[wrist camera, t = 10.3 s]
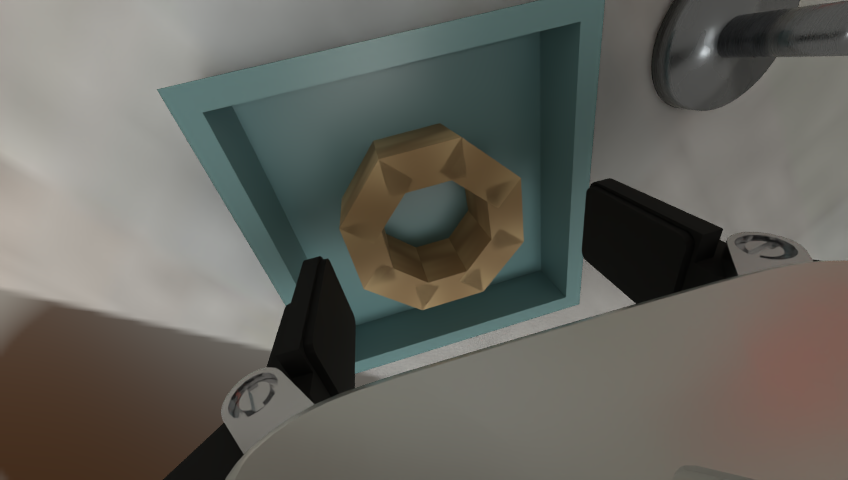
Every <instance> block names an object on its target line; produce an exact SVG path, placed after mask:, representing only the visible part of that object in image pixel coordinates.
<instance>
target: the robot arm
mask: <svg viewBox="0 0 848 480" xmlns="http://www.w3.org/2000/svg"><path fill="white" fill-rule="evenodd" d="M722 231H723V229H722V228H720V227H718V226H716V225H714V224H711V223H709V222H707V221H705V220H702V219H700V218H698V217H696V216H694V215H691V214H689V213H687V212H685V211H682V210H680V209H678V208H676V207H673V206H671V205H669V204H667V203H665V202H662V201H660V200H658V199H656V198H653V197H651V196H649V195H647V194H645V193H642V192H640V191H638V190H636V189H633V188H631V187H629V186H627V185H625V184H622V183H620V182H618V181H616V180H613V179H610V178H609V179H605V180H601V181H597V182H594V183H592V184H591V186H590V188H588V189H587V191H586V200H585V213H584V226H583V239H582V255H583V257H584V259H585V260H586V261H587V262H589V263H590V264H591V265H592V266H593V267H594V268H596V269H597V270H598V271H599V272H600V273H601V274H602V275H604V276H605V277H606V278H607V279H608V280H609V281H611V282H612V283H613V284H614V285H615V286H616V287H618V288H619V289H620V290H621V291H622V292H623V293H624V294H626V295H627V296H628V297H629V298H630V299H631V300H633V301H634V302H635V303H636V304H634V305H631V306H627V307H624V308H620V309H617V310H613V311H610V312H606V313H603V314H599V315H596V316H593V317H589V318H586V319H582V320H579V321H575V322H572V323H568V324H565V325H562V326H558V327H555V328H551V329H548V330H544V331H541V332H538V333H534V334H531V335H527V336H524V337H521V338H517V339H514V340H510V341H507V342H504V343H500V344H497V345H494V346H490V347H487V348H483V349H480V350H477V351H473V352H470V353H467V354H463V355H460V356H457V357H453V358H450V359H447V360H443V361H440V362H436V363H433V364H430V365H426V366H423V367H420V368H417V369H413V370H410V371H407V372H403V373H400V374H397V375H394V376H390V377H387V378H384V379H381V380H378V381H375V382H372V383H369V384H366V385H363V386H360V387H357V388H355V341H356V322H355V317H354V314H353V312H352V310H351V307H350V305H349V303H348V301H347V298H346V296H345V294H344V292H343V289H342V287H341V285H340V283H339V280H338V278H337V276H336V274H335V271H334V269H333V267H332V265H331V262H330V260H329V259H328V258H327V259H323V258H322V257H321V256H318V257H315V258H311V259H307V260H304V261H303V263H302V267H301V270H300V273H299V277H298V280H297V284H296V287H295V290H294V294H293V297H292V301H291V303H289V304H288V305H286V307H285V310H284V313H283V316H282V319H281V323H280V326H279V329H278V332H277V335H276V339H275V342H274V345H273V348H272V351H271V355H270V358H269V361H268V364H267V368H263V369H259V370H257V371H255V372H252V373H251V374H249V375H247V376H246V377H245V378H243V379H242V380H241V381H240V382H238V383H237V384H236V385H235V386H234V387H233V389H232V390H231V391H230V392H229V394H228V395H227V397H226V399H225V401H224V403H223V406H222V410H221V415H222V419H223V421H224V423H223V424H222V425H221V426H220V427H219V428H218V429H217V430H216V431H215V432H214V433H213V434H212V435H210V436H209V437H208V438H207V439H206V440H205V441H204V442H203V443H202V444H201V445H200V446H199V447H198V448H196V450H194V451H193V452H192V453H191V454H190V455H189V456H188V457H187V458H186V459H185V460H184V461H183V462H181V463H180V464H179V465H178V466H177V467H176V468H175V469H174V470H173V471H172V472H171V473H170V474H169V475H167V477H166V478H164V479H163V480H848V261H819V260H812V258H811V257H810V255H809V253H808V252H807V250H806V249H805V248H804V247H803V246H801V245H800V244H798V243H796V242H795V241H793V240H790V239H787V238H785V237H782V236H778V235H774V234H769V233H761V232H742V233H736V234H734V235H731V236H730V237H729V238H728V239H727V241H726V243H725V242H723V241H721V240H719V239H720V236H721V234H722Z"/></svg>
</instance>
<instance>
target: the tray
mask: <svg viewBox="0 0 848 480" xmlns="http://www.w3.org/2000/svg"><path fill="white" fill-rule="evenodd" d="M604 5H605V0H538V1H534V2H530V3H526V4H521V5H517V6H513V7H508V8H504V9H500V10H496V11H491V12H487V13H483V14H478V15H474V16H470V17H466V18H461V19H457V20H453V21H448V22H444V23H440V24H436V25H431V26H427V27H423V28H418V29H414V30H410V31H405V32H401V33H397V34H393V35H388V36H384V37H380V38H375V39H371V40H367V41H363V42H358V43H354V44H350V45H345V46H341V47H337V48H333V49H328V50H324V51H320V52H315V53H311V54H307V55H303V56H298V57H294V58H290V59H285V60H281V61H277V62H273V63H268V64H264V65H260V66H255V67H251V68H247V69H243V70H238V71H234V72H230V73H225V74H221V75H217V76H213V77H208V78H204V79H200V80H195V81H191V82H187V83H183V84H178V85H174V86H170V87H165V88H161V89H157V90H158V92H159V94H160V95H161V97H162V99H163V100H164V102H165V104H166V106H167V107H168V109H169V111H170V112H171V114H172V116H173V117H174V119H175V121H176V122H177V124H178V126H179V127H180V129H181V131H182V132H183V134H184V136H185V137H186V139H187V141H188V142H189V144H190V146H191V148H192V149H193V151H194V153H195V154H196V156H197V158H198V159H199V161H200V163H201V164H202V166H203V168H204V169H205V171H206V173H207V174H208V176H209V178H210V179H211V181H212V183H213V184H214V186H215V188H216V190H217V191H218V193H219V195H220V196H221V198H222V200H223V201H224V203H225V205H226V206H227V208H228V210H229V211H230V213H231V215H232V216H233V218H234V220H235V221H236V223H237V225H238V226H239V228H240V230H241V231H242V233H243V235H244V237H245V238H246V240H247V242H248V243H249V245H250V247H251V248H252V250H253V252H254V253H255V255H256V257H257V258H258V260H259V262H260V263H261V265H262V267H263V268H264V270H265V272H266V273H267V275H268V277H269V279H270V280H271V282H272V284H273V285H274V287H275V289H276V290H277V292H278V294H279V295H280V297H281V299H282V300H283V302H284V304H285V305H288V304H289V303H291V301H292V297H293V294H294V290H295V287H296V284H297V280H298V277H299V273H300V270H301V267H302V263H303V261H304V260H307V259H311V258H315V257H318V256H321V257H322V258H323V259H327V258H328V259H329V260H330V262H331V265H332V267H333V269H334V271H335V274H336V276H337V278H338V280H339V283H340V285H341V287H342V289H343V292H344V294H345V296H346V298H347V301H348V303H349V305H350V307H351V310H352V312H353V314H354V317H355V322H356V341H355V374H356V373H359V372H362V371H366V370H369V369H372V368H375V367H378V366H382V365H385V364H388V363H391V362H395V361H398V360H401V359H404V358H407V357H411V356H414V355H417V354H420V353H423V352H427V351H430V350H433V349H436V348H440V347H443V346H446V345H449V344H452V343H456V342H459V341H462V340H465V339H469V338H472V337H475V336H478V335H481V334H485V333H488V332H491V331H494V330H497V329H501V328H504V327H507V326H510V325H514V324H517V323H520V322H523V321H526V320H530V319H533V318H536V317H539V316H542V315H546V314H549V313H552V312H555V311H559V310H562V309H565V308H568V307H571V306H575V305H578V304H579V301H580V289H581V277H582V265H583V255H582V239H583V226H584V213H585V200H586V191H587V189H588V188H589V183H590V171H591V159H592V147H593V135H594V124H595V112H596V100H597V88H598V76H599V65H600V53H601V41H602V29H603V17H604ZM439 123H441V124H442V125H444V126H445V127H447V128H448V129H450V130H451V131H453V132H454V133H456V134H458V135H459V136H461V137H462V138H464V139H465V140H466V141H468V142H469V143H471V144H472V145H474V146H475V147H477V148H478V149H480V150H481V151H483V152H484V153H485V154H487V155H488V156H490V157H491V158H493V159H494V160H496V161H497V162H499V163H500V164H501V165H503V166H504V167H506V168H507V169H509V170H510V171H512V172H513V173H515V174H516V175H517V176H519V177H520V178H521V189H522V212H523V234H524V242H523V243H522V245H521V246H520V247H519V248H518V250H517V251H516V252H515V253H514V254H513V256H512V257H511V258H510V259H509V261H508V262H507V263H506V264H505V266H504V267H503V268H502V269H501V270H500V272H499V273H498V274H497V275H496V277H495V278H494V279H493V280H492V282H491V283H490V284H489V285H488V286H487V288H486V289H485V290H484V291H483V292H480V293H477V294H474V295H470V296H467V297H464V298H461V299H457V300H454V301H451V302H448V303H444V304H441V305H438V306H434V307H431V308H428V309H425V310H420V309H417V308H415V307H412V306H409V305H406V304H404V303H401V302H398V301H395V300H392V299H390V298H387V297H384V296H381V295H379V294H376V293H373V292H370V291H368V290H365V289H364V288H363V286H362V283H361V281H360V278H359V276H358V273H357V271H356V269H355V266H354V264H353V261H352V259H351V256H350V254H349V251H348V249H347V246H346V244H345V242H344V239H343V237H342V234H341V232H340V229H339V228H340V215H341V202H342V197H343V195H344V194H345V192H346V190H347V188H348V186H349V184H350V182H351V181H352V179H353V177H354V175H355V173H356V171H357V170H358V168H359V166H360V164H361V162H362V160H363V159H364V157H365V155H366V153H367V151H368V149H369V147H370V146H371V144H372V142H373V141H374V140H378V139H382V138H385V137H389V136H393V135H397V134H401V133H404V132H408V131H412V130H416V129H420V128H423V127H427V126H431V125H435V124H439ZM467 211H468V206H467V199H466V193H465V188H464V187H462V186H460V185H459V184H457V183H455V182H454V181H452V180H451V181H447V182H444V183H440V184H437V185H433V186H429V187H426V188H422V189H419V190H415V191H411V192H408V193H405V194H404V196H403V198H402V199H401V201H400V203H399V204H398V206H397V207H396V209H395V211H394V212H393V214H392V215H391V217H390V219H389V220H388V222H387V224H386V225H385V227H384V229H385V232H386V234H388V235H390V236H392V237H394V238H396V239H399V240H401V241H403V242H405V243H407V244H409V245H412V246H414V247H419V246H423V245H426V244H430V243H433V242H437V241H440V240H444V239H447V238H449V237H450V235H451V234H452V232H453V231H454V230H455V228H456V227H457V225H458V224H459V223H460V221H461V220H462V218H463V217H464V216H465V214H466V213H467Z"/></svg>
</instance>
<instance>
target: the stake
mask: <svg viewBox="0 0 848 480" xmlns="http://www.w3.org/2000/svg"><path fill="white" fill-rule="evenodd" d="M799 1H800V0H675V1H674V2H673V4H672V6H671V7H670V9H669V11H668V13H667V15H666V17H665V19H664V21H663V23H662V25H661V28H660V30H659V33H658V36H657V39H656V42H655V47H654V51H653V59H652V76H653V82H654V86H655V89H656V91H657V93H658V95H659V96H660V97H661V99H662V100H663V101H664V102H665V103H667V104H669V105H670V106H673V107H676V108H683V109H691V110H699V111H706V110H712V109H716V108H719V107H722V106H724V105H726V104H728V103H730V102H732V101H733V100H735V99H737V98H738V97H739V96H741V95H742V94H743V93H745V92H746V91H747V90H748V89H749V88H751V87H752V86H753V85H754V84H755V83H756V82H757V81H758V80H759V79H760V78H761V76H762V75H763V74H764V73H765V72H766V71H767V69H768V68H769V67H770V65H771V64H772V63H773V61H774V60H775V58H776V57H803V56H848V1H841V2H834V3H826V4H819V5H811V6H803V7H798V5H799Z"/></svg>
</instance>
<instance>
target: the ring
mask: <svg viewBox="0 0 848 480" xmlns="http://www.w3.org/2000/svg"><path fill="white" fill-rule="evenodd" d="M451 180H452V181H454V182H455V183H457V184H459V185H460V186H462V187H464V188H465V193H466V199H467V206H468V211H467V213H466V214H465V216H464V217H463V218H462V220H461V221H460V223H459V224H458V225H457V227H456V228H455V230H454V231H453V232H452V234H451V235H450V237H449V238H447V239H444V240H440V241H437V242H433V243H430V244H426V245H423V246H419V247H414V246H412V245H409V244H407V243H405V242H403V241H401V240H399V239H396V238H394V237H392V236H390V235H388V234H386V232H385V229H384V227H385V225H386V224H387V222H388V220H389V219H390V217H391V215H392V214H393V212H394V211H395V209H396V207H397V206H398V204H399V203H400V201H401V199H402V198H403V196H404V194H405V193H408V192H411V191H415V190H419V189H422V188H426V187H429V186H433V185H437V184H440V183H444V182H447V181H451ZM339 229H340V232H341V234H342V237H343V239H344V242H345V244H346V246H347V249H348V251H349V254H350V256H351V259H352V261H353V264H354V266H355V269H356V271H357V273H358V276H359V278H360V281H361V283H362V286H363V288H364V289H365V290H368V291H370V292H373V293H376V294H379V295H381V296H384V297H387V298H390V299H392V300H395V301H398V302H401V303H404V304H406V305H409V306H412V307H415V308H417V309H420V310H425V309H428V308H431V307H434V306H438V305H441V304H444V303H448V302H451V301H454V300H457V299H461V298H464V297H467V296H470V295H474V294H477V293H480V292H483V291H484V290H485V289H486V288H487V286H488V285H489V284H490V283H491V282H492V280H493V279H494V278H495V277H496V275H497V274H498V273H499V272H500V270H501V269H502V268H503V267H504V266H505V264H506V263H507V262H508V261H509V259H510V258H511V257H512V256H513V254H514V253H515V252H516V251H517V250H518V248H519V247H520V246H521V245H522V243H523V242H524V234H523V212H522V189H521V178H520V177H519V176H517V175H516V174H515V173H513V172H512V171H510V170H509V169H507V168H506V167H504V166H503V165H501V164H500V163H499V162H497V161H496V160H494V159H493V158H491V157H490V156H488V155H487V154H485V153H484V152H483V151H481V150H480V149H478V148H477V147H475V146H474V145H472V144H471V143H469V142H468V141H466V140H465V139H464V138H462V137H461V136H459V135H458V134H456V133H454V132H453V131H451V130H450V129H448V128H447V127H445V126H444V125H442V124H441V123H439V124H435V125H431V126H427V127H423V128H420V129H416V130H412V131H408V132H404V133H401V134H397V135H393V136H389V137H385V138H382V139H378V140H374V141H373V142H372V144H371V146H370V147H369V149H368V151H367V153H366V155H365V157H364V159H363V160H362V162H361V164H360V166H359V168H358V170H357V171H356V173H355V175H354V177H353V179H352V181H351V182H350V184H349V186H348V188H347V190H346V192H345V194H344V195H343V197H342V202H341V215H340V228H339Z"/></svg>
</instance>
